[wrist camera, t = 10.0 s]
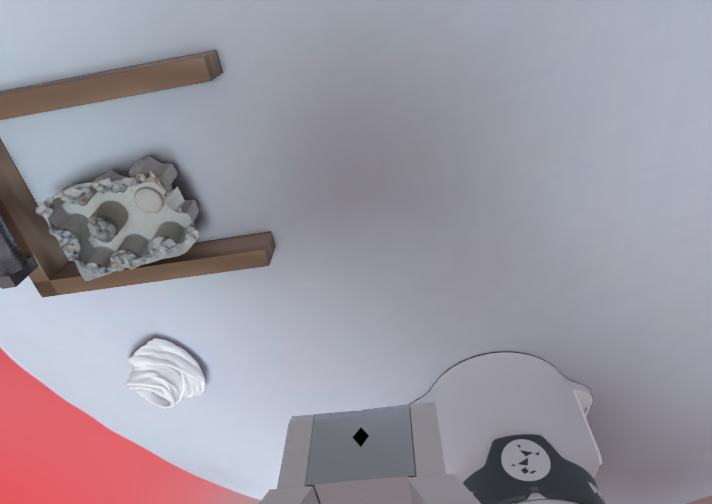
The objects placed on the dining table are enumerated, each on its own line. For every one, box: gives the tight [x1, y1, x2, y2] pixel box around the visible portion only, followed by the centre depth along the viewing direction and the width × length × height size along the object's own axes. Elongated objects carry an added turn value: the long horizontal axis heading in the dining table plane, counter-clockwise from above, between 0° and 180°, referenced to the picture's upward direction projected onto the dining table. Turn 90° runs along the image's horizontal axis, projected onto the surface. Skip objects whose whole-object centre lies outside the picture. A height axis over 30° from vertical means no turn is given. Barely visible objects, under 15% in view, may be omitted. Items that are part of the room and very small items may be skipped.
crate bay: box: [0, 50, 275, 297], centre depth 38 cm, size 16×20×3 cm
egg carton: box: [36, 157, 200, 281], centre depth 38 cm, size 11×8×4 cm
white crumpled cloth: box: [125, 338, 205, 409], centre depth 47 cm, size 8×7×5 cm
